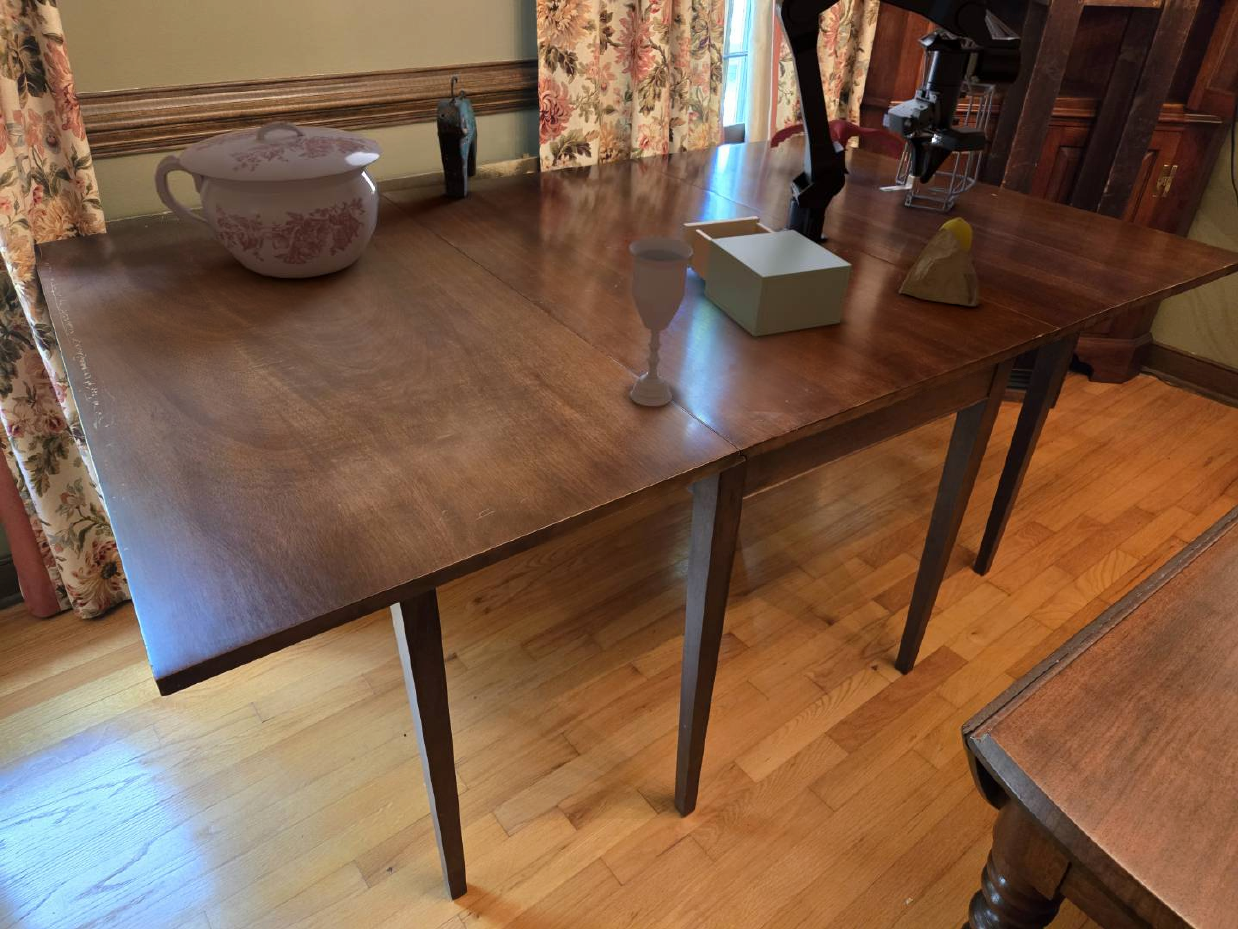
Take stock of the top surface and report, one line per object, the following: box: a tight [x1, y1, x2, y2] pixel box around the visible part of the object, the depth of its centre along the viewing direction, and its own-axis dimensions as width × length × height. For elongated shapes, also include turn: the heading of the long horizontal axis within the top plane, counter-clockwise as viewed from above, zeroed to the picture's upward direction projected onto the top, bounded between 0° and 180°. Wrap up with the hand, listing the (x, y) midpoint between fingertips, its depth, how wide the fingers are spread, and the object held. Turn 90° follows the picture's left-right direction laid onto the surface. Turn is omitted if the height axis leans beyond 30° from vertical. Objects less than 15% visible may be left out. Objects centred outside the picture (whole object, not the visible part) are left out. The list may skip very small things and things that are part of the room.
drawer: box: [681, 215, 775, 282], centre depth 127 cm, size 18×13×7 cm
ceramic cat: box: [436, 76, 478, 198], centre depth 158 cm, size 20×6×20 cm, turn 179°
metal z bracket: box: [878, 173, 936, 194], centre depth 139 cm, size 10×2×2 cm, turn 113°
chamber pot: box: [153, 120, 384, 279], centre depth 121 cm, size 28×28×21 cm
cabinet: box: [704, 230, 853, 338], centre depth 117 cm, size 15×14×9 cm
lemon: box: [940, 216, 973, 254], centre depth 135 cm, size 6×6×8 cm
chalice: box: [628, 236, 693, 407], centre depth 93 cm, size 7×7×18 cm
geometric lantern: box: [894, 9, 1023, 213], centre depth 154 cm, size 16×16×35 cm
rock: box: [898, 227, 981, 307], centre depth 123 cm, size 11×9×10 cm
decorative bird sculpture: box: [769, 119, 904, 159], centre depth 182 cm, size 28×9×15 cm
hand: (920, 181), depth 140 cm, fingers closed on metal z bracket, 2 cm apart
